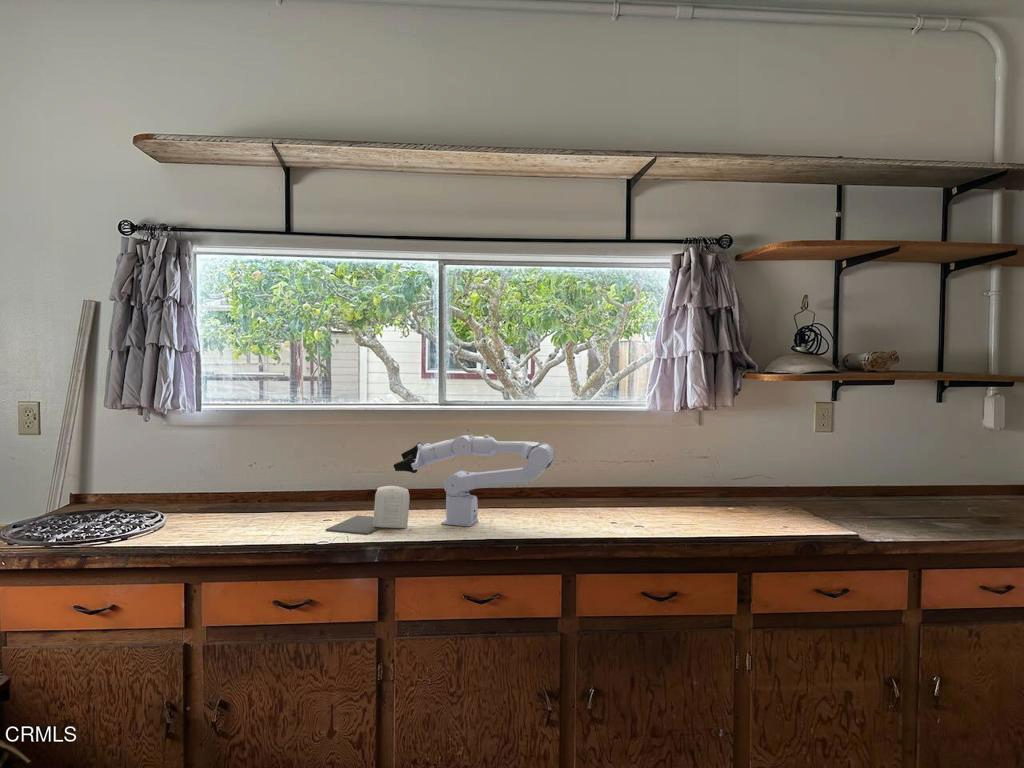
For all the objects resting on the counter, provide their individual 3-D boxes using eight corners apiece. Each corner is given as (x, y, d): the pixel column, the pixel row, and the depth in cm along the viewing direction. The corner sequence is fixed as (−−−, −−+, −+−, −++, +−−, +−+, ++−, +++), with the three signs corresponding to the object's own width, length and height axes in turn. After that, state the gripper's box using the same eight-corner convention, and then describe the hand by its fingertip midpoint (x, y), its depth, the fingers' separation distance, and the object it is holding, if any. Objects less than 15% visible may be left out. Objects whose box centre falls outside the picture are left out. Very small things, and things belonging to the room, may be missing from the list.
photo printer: (407, 525, 193) (410, 485, 192) (407, 529, 189) (410, 488, 188) (373, 524, 192) (376, 483, 191) (372, 528, 187) (374, 487, 187)
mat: (396, 520, 199) (396, 518, 199) (367, 534, 182) (367, 533, 182) (357, 516, 203) (357, 515, 203) (325, 530, 186) (325, 529, 186)
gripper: (438, 431, 203) (401, 441, 207) (425, 451, 190) (386, 461, 193) (446, 450, 205) (409, 460, 209) (434, 471, 192) (394, 481, 195)
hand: (398, 462), depth 201 cm, fingers open, 7 cm apart
